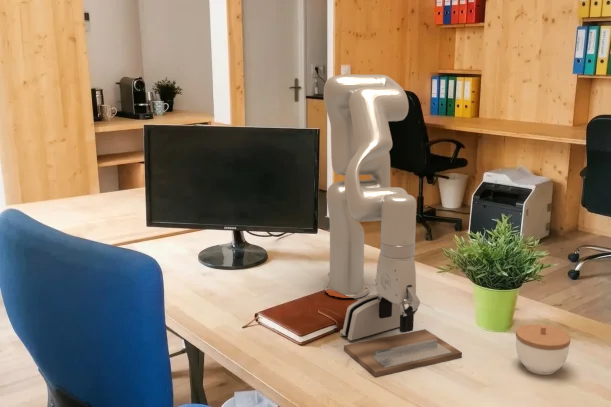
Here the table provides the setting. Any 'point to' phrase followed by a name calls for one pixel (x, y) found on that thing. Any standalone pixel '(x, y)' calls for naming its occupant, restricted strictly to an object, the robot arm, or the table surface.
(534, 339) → the lidded jar
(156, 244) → the table surface
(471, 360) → the table surface
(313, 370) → the table surface
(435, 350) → the plate
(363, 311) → the white arched block
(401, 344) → the mounting board
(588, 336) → the table surface
